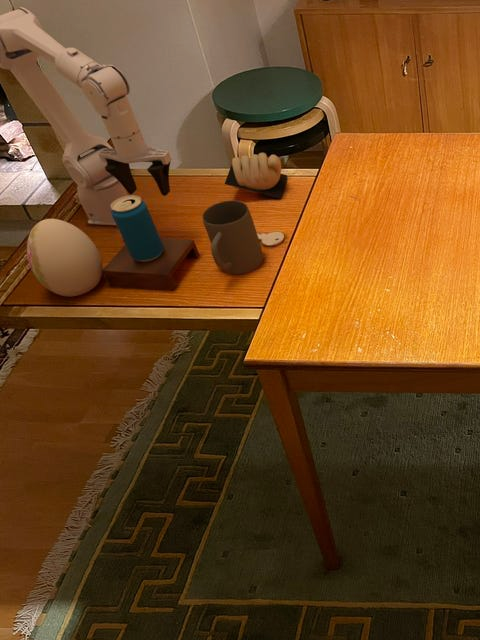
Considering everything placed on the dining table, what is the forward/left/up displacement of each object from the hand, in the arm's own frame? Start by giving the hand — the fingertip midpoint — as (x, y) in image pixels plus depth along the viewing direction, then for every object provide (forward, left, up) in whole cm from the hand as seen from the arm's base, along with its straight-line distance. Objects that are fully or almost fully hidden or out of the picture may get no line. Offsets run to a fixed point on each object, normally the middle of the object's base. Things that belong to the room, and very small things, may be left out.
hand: (149, 192), depth 151 cm
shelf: (+4, -13, -10) cm, 17 cm away
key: (+23, +3, -10) cm, 25 cm away
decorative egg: (-10, -19, -11) cm, 24 cm away
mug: (+21, -11, -11) cm, 26 cm away
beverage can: (+4, -13, -7) cm, 15 cm away
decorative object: (+14, +25, -5) cm, 29 cm away
